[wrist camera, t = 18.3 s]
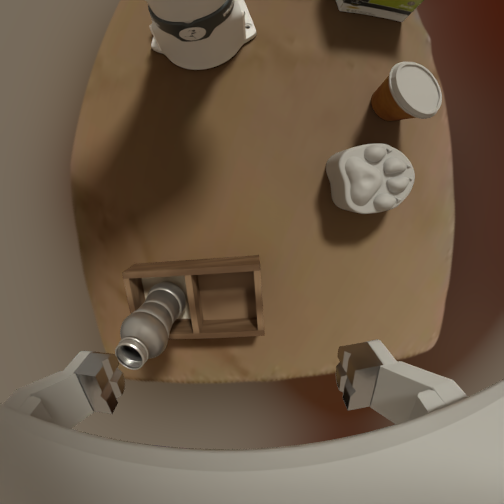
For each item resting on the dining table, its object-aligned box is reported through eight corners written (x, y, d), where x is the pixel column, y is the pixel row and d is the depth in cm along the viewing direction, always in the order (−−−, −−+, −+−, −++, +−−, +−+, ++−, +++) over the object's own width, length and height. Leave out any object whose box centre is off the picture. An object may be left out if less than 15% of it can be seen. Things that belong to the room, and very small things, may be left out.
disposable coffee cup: (382, 138, 43) (418, 126, 32) (352, 93, 42) (381, 69, 30) (415, 117, 42) (453, 104, 30) (388, 75, 40) (420, 52, 29)
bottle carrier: (134, 263, 48) (122, 272, 42) (258, 255, 48) (260, 264, 42) (146, 324, 50) (136, 338, 45) (262, 320, 50) (264, 335, 45)
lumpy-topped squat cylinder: (322, 154, 44) (337, 147, 36) (388, 144, 44) (413, 138, 35) (334, 214, 46) (352, 220, 38) (399, 201, 46) (425, 204, 37)
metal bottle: (162, 270, 47) (112, 321, 28) (195, 291, 48) (164, 354, 28) (146, 299, 48) (97, 358, 29) (178, 319, 49) (144, 388, 30)
